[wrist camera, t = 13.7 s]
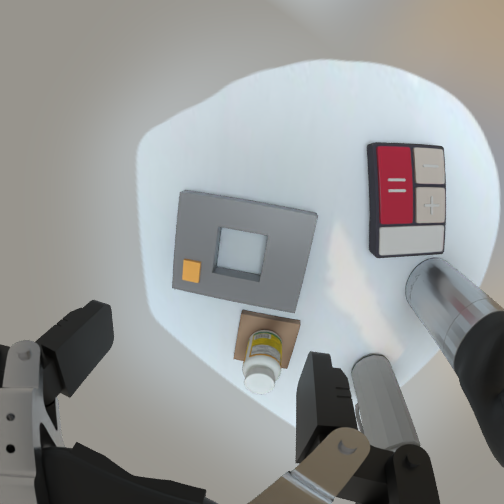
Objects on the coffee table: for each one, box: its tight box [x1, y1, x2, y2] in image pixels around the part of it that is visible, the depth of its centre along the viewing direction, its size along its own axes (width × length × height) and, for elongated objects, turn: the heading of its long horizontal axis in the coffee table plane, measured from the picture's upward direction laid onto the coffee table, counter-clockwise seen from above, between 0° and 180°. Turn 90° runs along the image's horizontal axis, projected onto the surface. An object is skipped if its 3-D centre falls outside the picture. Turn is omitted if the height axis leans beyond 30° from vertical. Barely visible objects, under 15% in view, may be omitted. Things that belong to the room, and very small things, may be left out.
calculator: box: [367, 143, 446, 258], centre depth 35 cm, size 11×4×15 cm
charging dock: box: [172, 190, 318, 313], centre depth 40 cm, size 18×14×3 cm
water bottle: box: [351, 355, 420, 452], centre depth 34 cm, size 9×8×25 cm
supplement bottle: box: [242, 330, 282, 395], centre depth 40 cm, size 5×5×10 cm
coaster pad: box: [234, 310, 300, 369], centre depth 45 cm, size 9×9×1 cm
